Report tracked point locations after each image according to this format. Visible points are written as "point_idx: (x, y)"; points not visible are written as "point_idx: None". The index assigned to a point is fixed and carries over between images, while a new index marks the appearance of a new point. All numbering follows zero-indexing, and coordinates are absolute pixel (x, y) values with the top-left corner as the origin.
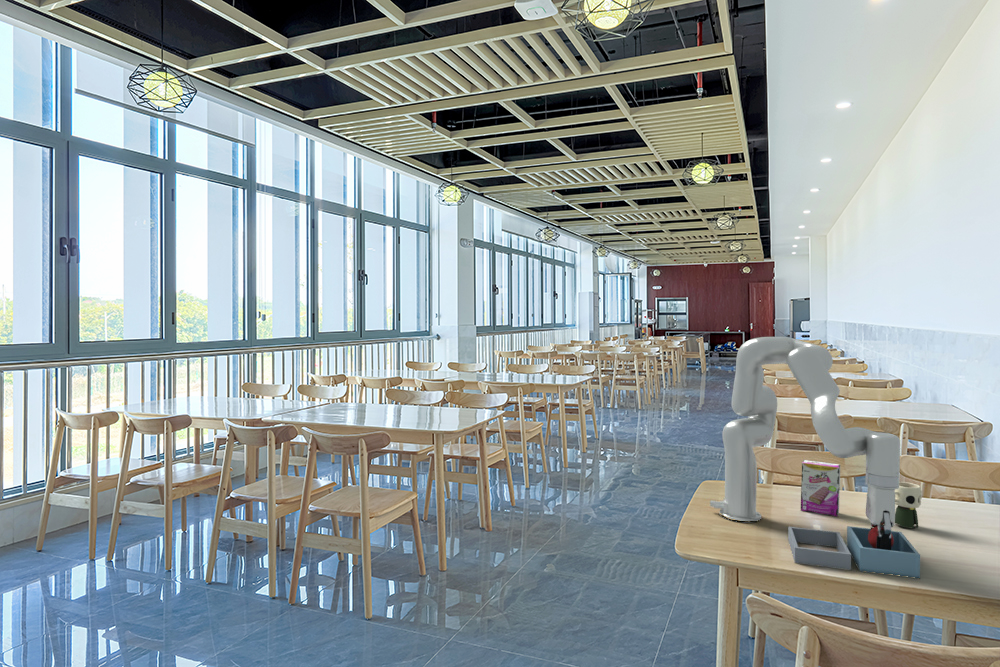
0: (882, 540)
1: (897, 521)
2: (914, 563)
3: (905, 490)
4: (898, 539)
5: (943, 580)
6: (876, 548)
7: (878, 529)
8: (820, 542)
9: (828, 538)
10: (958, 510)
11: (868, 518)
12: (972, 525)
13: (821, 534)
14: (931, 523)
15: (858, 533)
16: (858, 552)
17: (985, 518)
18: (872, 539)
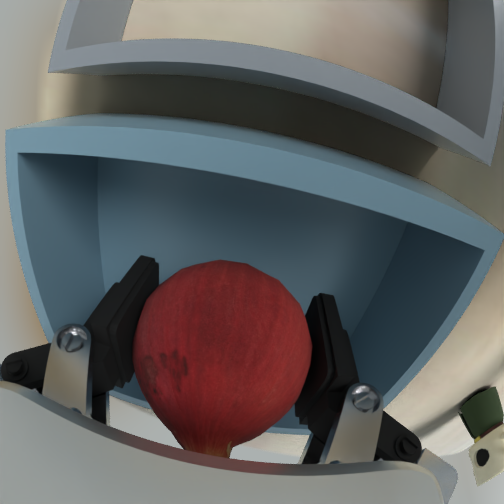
0: (87, 326)
1: (487, 395)
2: None
3: (494, 469)
4: None
5: None
6: (142, 263)
7: (58, 380)
8: (452, 59)
9: (464, 93)
10: (470, 438)
11: (234, 478)
12: (429, 449)
13: (481, 60)
14: (462, 422)
15: (442, 273)
16: (71, 119)
17: (439, 454)
18: (167, 288)
